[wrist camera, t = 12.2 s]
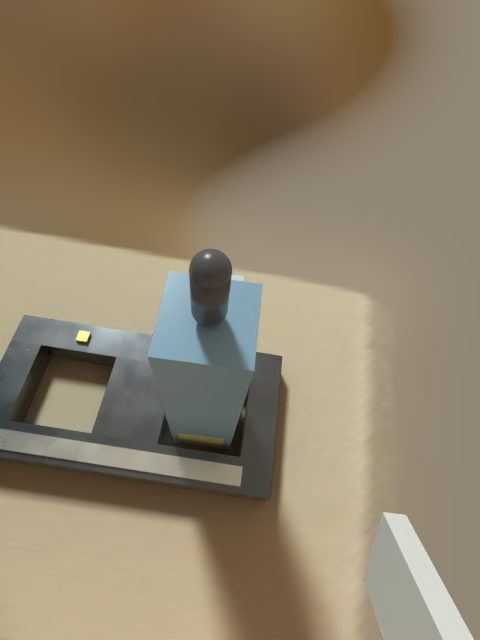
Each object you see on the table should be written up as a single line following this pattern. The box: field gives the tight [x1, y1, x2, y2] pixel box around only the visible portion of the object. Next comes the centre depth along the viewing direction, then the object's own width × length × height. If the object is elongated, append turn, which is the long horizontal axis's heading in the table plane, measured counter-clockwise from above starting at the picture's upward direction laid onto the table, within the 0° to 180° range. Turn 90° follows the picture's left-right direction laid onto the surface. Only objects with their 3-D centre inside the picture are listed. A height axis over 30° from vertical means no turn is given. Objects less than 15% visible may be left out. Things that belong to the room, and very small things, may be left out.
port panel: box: [0, 315, 282, 501], centre depth 27 cm, size 20×10×2 cm, turn 82°
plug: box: [147, 249, 263, 449], centre depth 20 cm, size 4×5×19 cm
